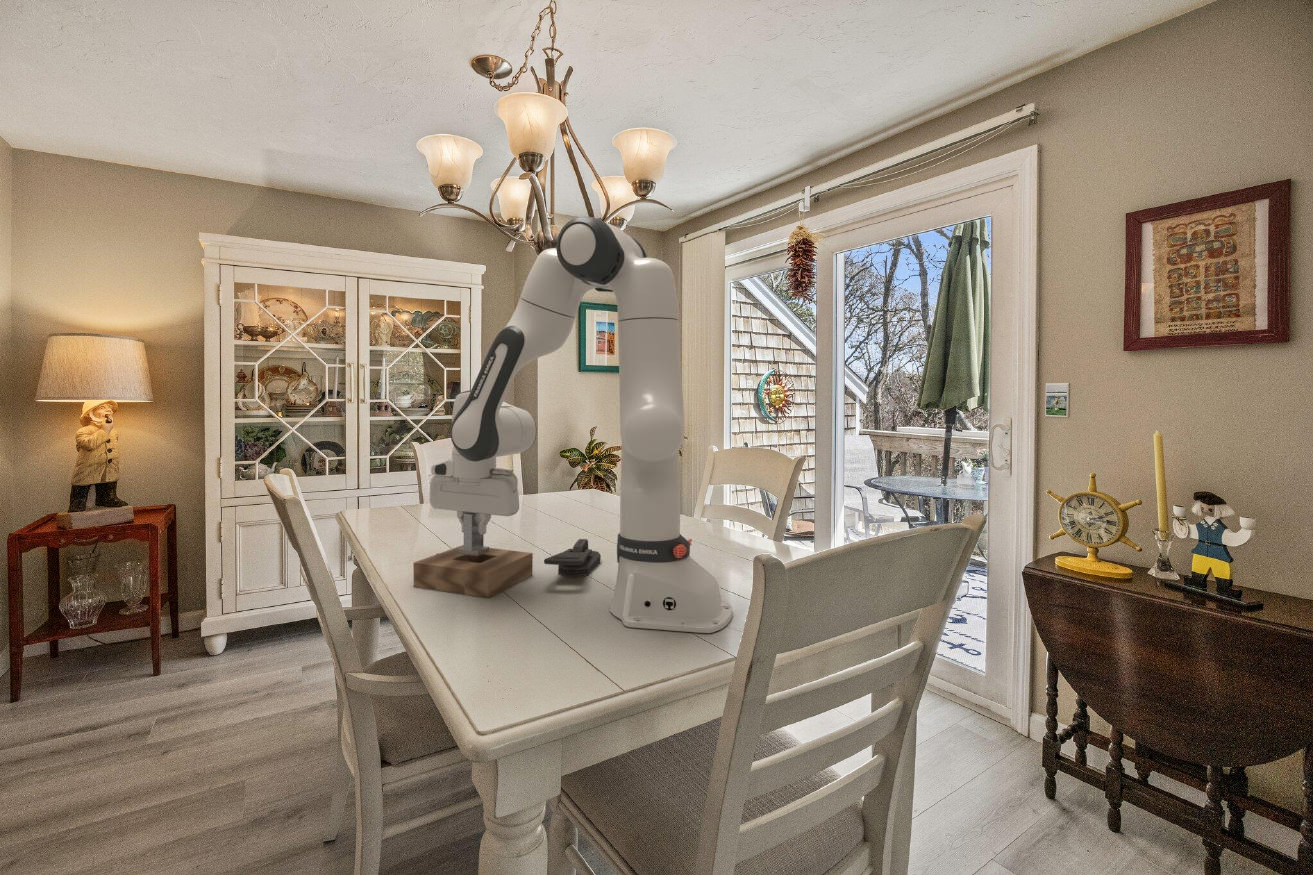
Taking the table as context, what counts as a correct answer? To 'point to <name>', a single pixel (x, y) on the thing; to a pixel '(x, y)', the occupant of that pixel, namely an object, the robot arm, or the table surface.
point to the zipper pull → (576, 560)
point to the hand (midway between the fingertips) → (473, 533)
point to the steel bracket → (472, 536)
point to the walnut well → (473, 571)
